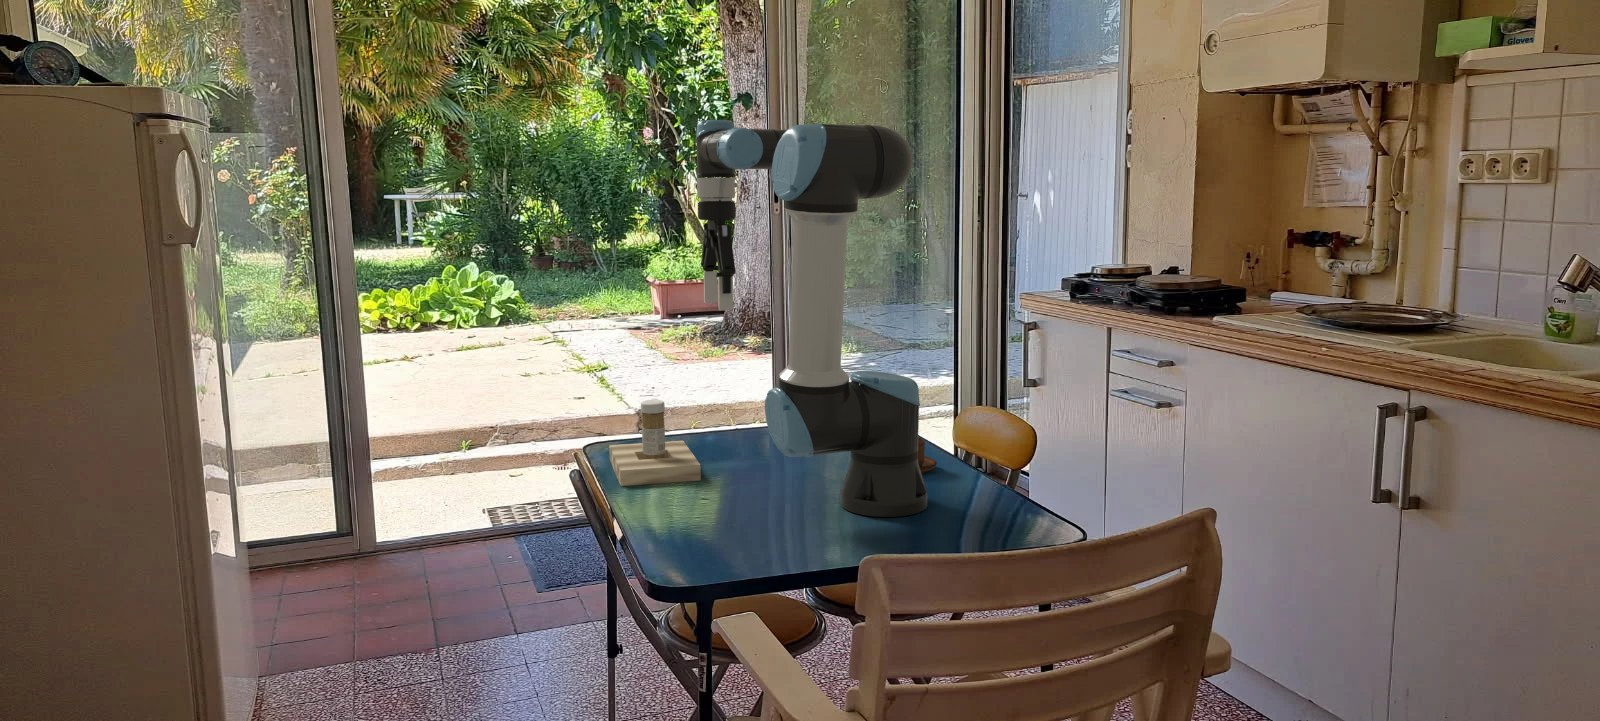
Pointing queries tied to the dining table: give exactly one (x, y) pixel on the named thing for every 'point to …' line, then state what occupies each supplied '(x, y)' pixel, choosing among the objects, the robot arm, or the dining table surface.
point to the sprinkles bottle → (653, 429)
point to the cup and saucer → (924, 458)
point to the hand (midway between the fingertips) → (718, 306)
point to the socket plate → (654, 464)
